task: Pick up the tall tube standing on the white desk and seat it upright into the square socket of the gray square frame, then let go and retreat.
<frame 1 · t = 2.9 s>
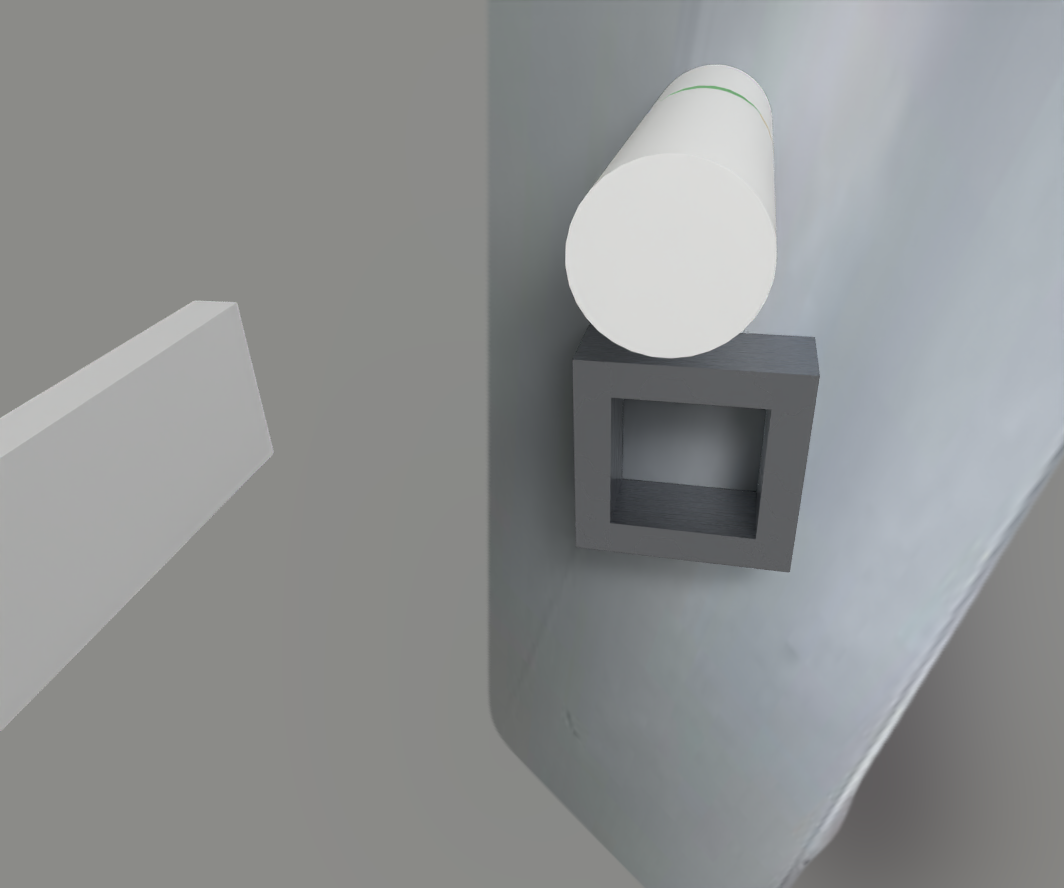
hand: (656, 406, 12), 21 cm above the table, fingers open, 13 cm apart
gray square frame: (692, 427, 35), on the table
tube: (710, 129, 29), on the table
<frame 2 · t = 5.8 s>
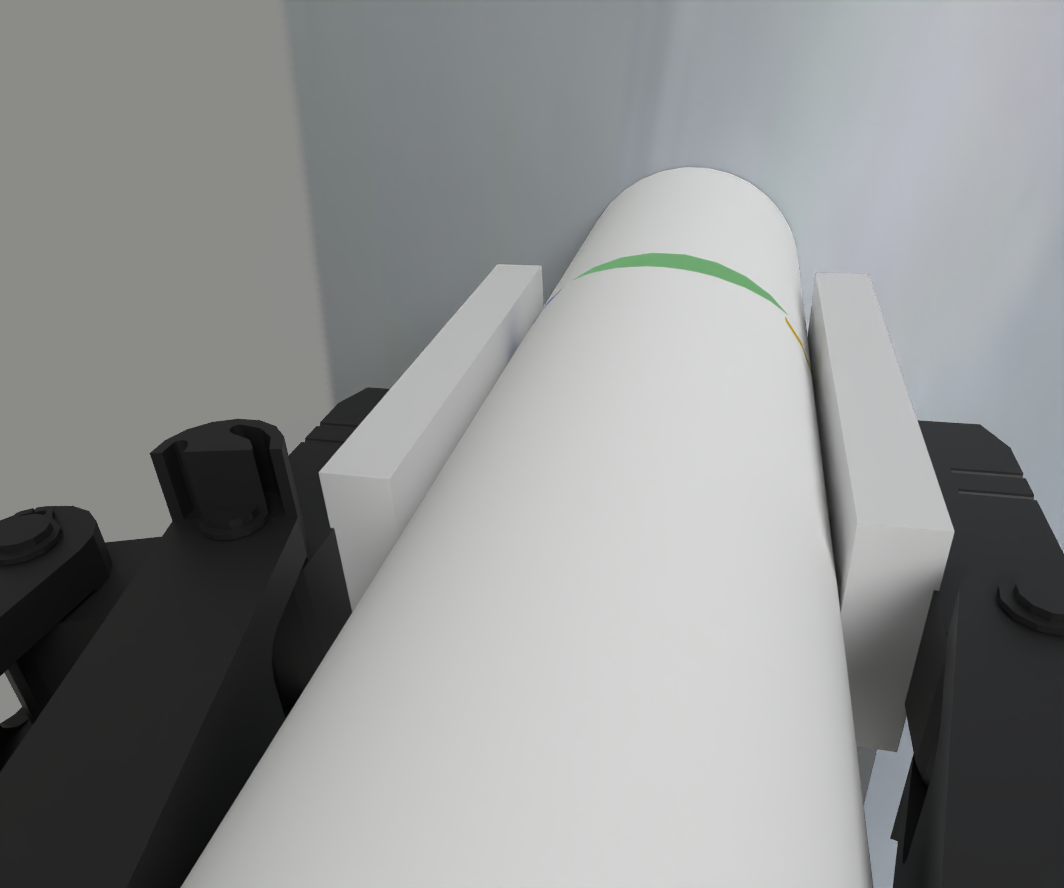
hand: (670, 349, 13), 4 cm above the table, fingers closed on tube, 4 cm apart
gray square frame: (670, 700, 23), on the table
tube: (688, 273, 17), on the table, touching gripper
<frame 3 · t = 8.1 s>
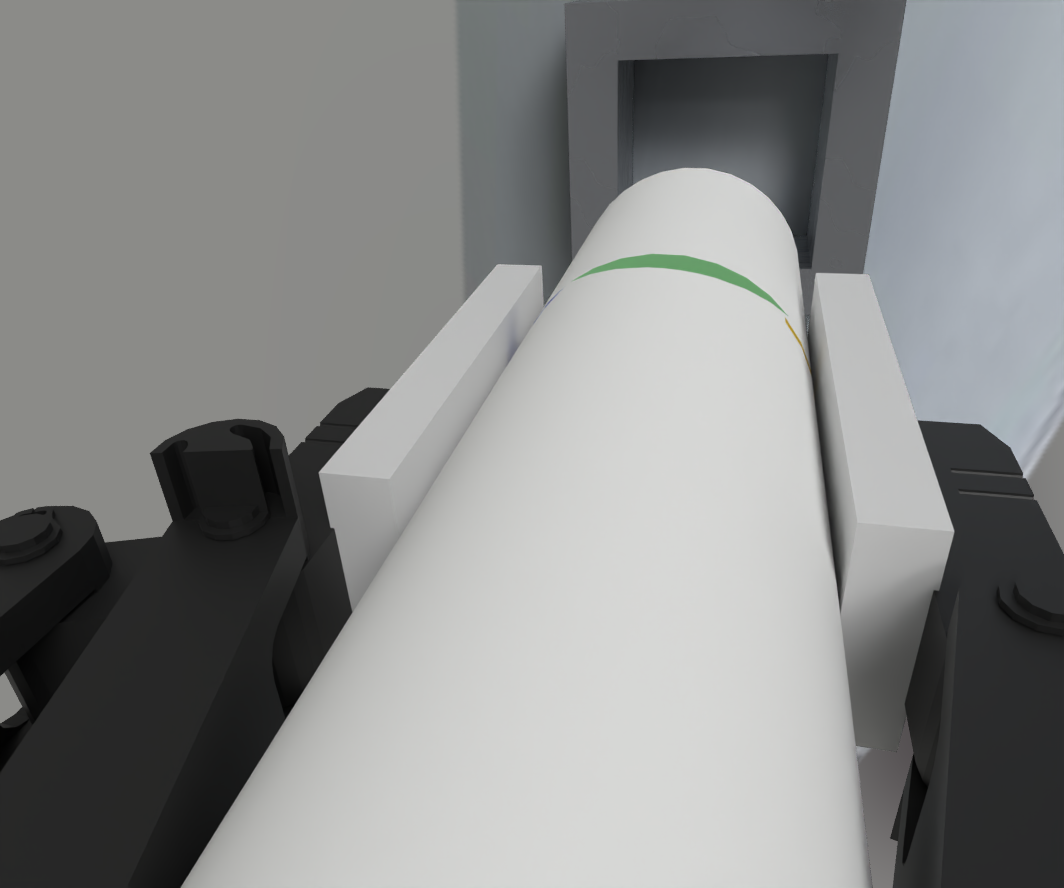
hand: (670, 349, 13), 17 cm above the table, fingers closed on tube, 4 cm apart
gray square frame: (723, 145, 27), on the table
tube: (688, 273, 17), point 13 cm above the table, touching gripper
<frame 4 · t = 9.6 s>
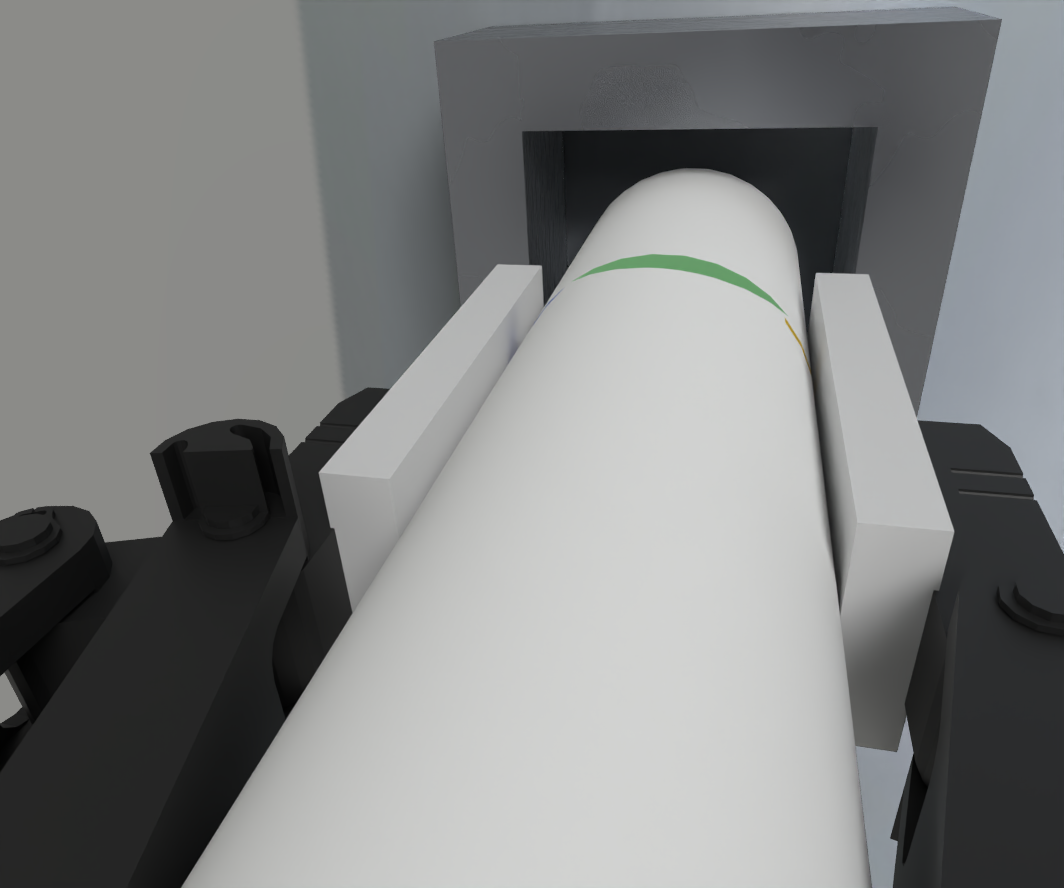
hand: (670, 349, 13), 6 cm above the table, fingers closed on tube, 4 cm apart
gray square frame: (696, 241, 18), on the table
tube: (688, 273, 17), point 2 cm above the table, touching gripper
when the fingers open (6 cm above the table, at t = 10.6 s): tube drops 2 cm, on the table.
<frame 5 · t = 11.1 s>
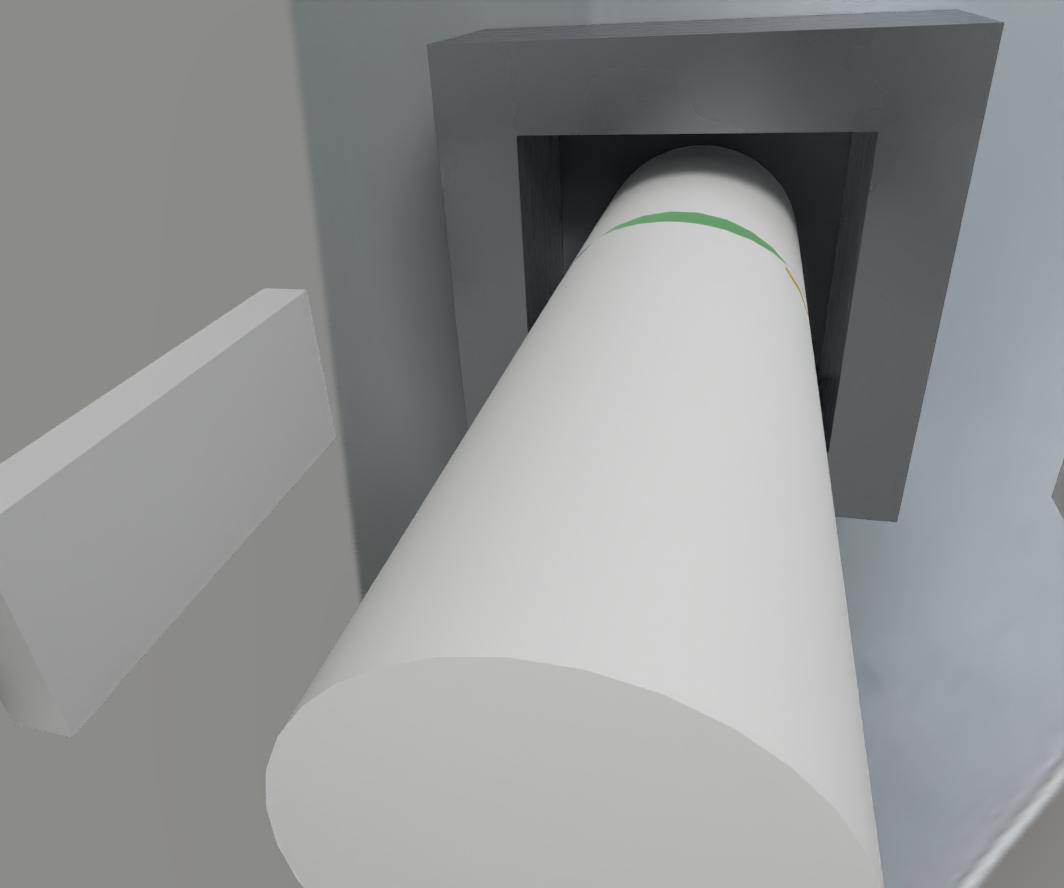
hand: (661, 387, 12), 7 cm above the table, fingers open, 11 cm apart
gray square frame: (694, 247, 18), on the table
tube: (697, 243, 18), on the table
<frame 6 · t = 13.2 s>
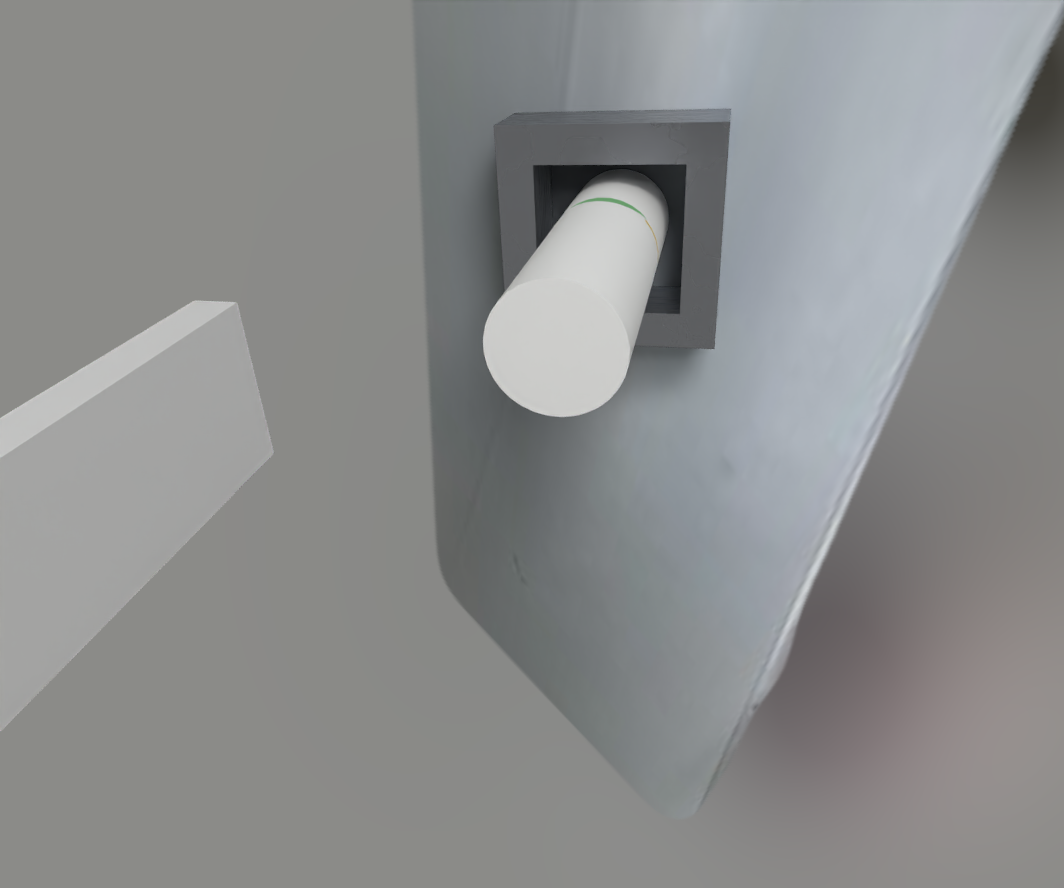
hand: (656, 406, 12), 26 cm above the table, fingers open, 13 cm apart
gray square frame: (619, 219, 36), on the table
tube: (620, 218, 36), on the table
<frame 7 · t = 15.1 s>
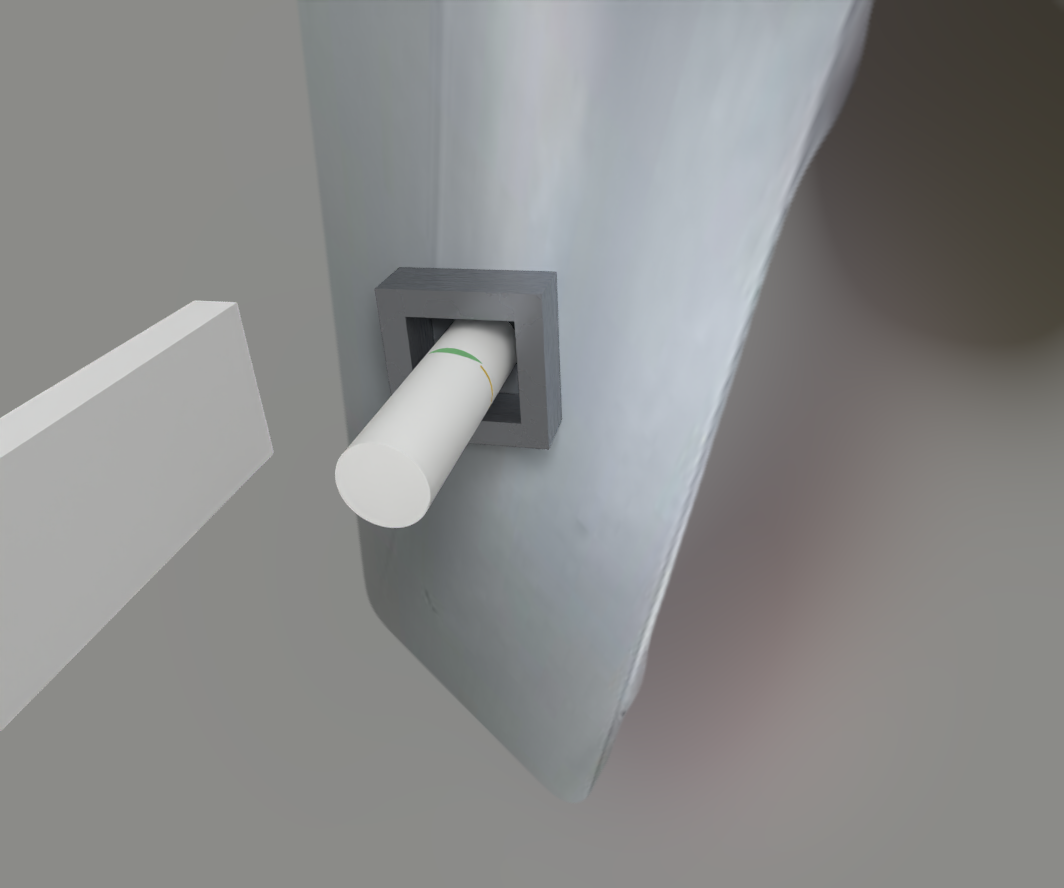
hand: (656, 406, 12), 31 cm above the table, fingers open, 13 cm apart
gray square frame: (482, 345, 47), on the table
tube: (484, 343, 47), on the table
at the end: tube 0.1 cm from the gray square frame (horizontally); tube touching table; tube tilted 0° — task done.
